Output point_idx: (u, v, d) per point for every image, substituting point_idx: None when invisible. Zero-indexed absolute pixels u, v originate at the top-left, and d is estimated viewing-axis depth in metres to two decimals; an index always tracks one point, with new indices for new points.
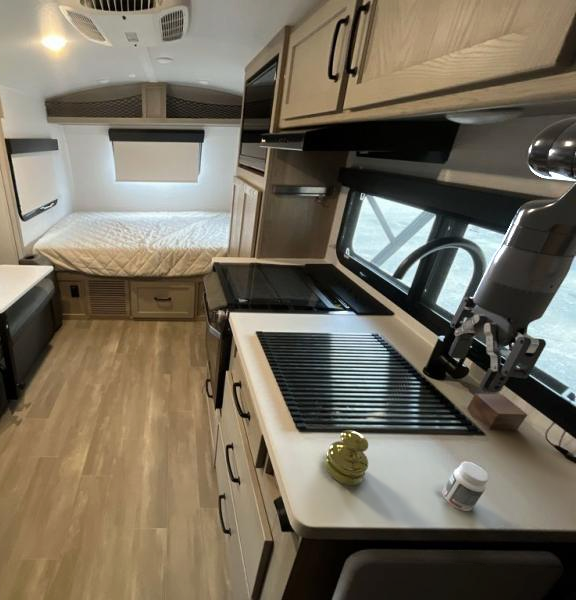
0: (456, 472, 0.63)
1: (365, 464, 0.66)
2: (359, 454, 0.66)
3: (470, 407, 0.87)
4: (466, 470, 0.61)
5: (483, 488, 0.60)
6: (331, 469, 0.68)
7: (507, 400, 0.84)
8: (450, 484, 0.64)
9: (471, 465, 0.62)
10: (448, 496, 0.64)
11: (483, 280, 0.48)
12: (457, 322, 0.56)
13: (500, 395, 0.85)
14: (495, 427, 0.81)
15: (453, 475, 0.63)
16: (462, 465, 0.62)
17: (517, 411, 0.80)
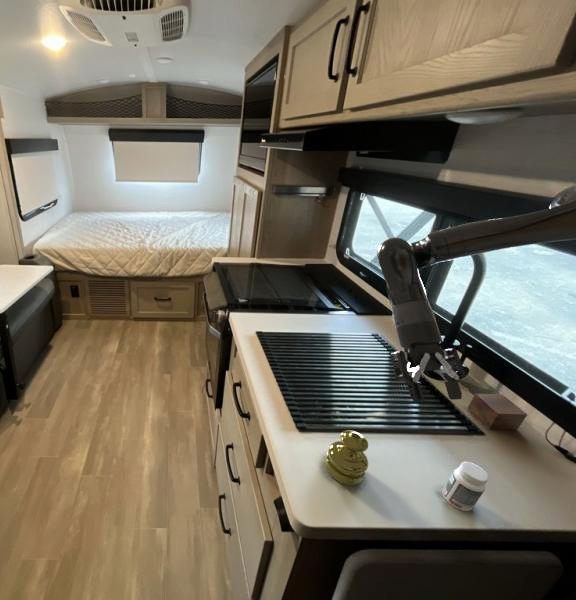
0: (456, 472, 0.63)
1: (365, 464, 0.66)
2: (359, 454, 0.66)
3: (470, 407, 0.87)
4: (466, 470, 0.61)
5: (483, 488, 0.60)
6: (331, 469, 0.68)
7: (507, 400, 0.84)
8: (450, 484, 0.64)
9: (471, 465, 0.62)
10: (448, 496, 0.64)
11: None
12: None
13: (500, 395, 0.85)
14: (495, 427, 0.81)
15: (453, 475, 0.63)
16: (462, 465, 0.62)
17: (517, 411, 0.80)
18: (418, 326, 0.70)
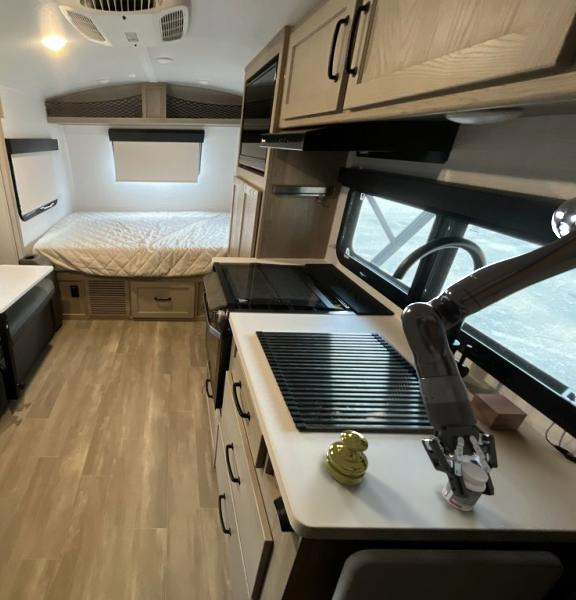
0: None
1: (365, 464, 0.66)
2: (359, 454, 0.66)
3: None
4: (466, 470, 0.61)
5: (483, 488, 0.60)
6: (331, 469, 0.68)
7: (507, 400, 0.84)
8: None
9: (471, 465, 0.62)
10: (448, 496, 0.64)
11: None
12: None
13: (500, 395, 0.85)
14: (495, 427, 0.81)
15: None
16: (462, 465, 0.62)
17: (517, 411, 0.80)
18: (450, 406, 0.63)
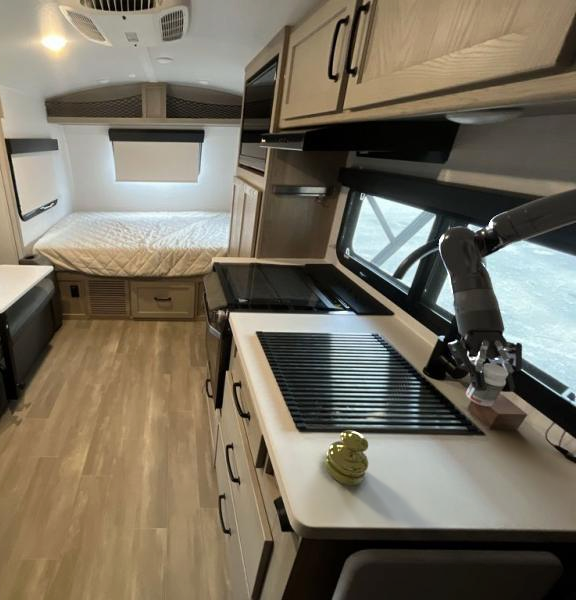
0: None
1: (365, 464, 0.66)
2: (359, 454, 0.66)
3: (470, 407, 0.87)
4: (487, 368, 0.69)
5: (502, 383, 0.68)
6: (331, 469, 0.68)
7: (507, 400, 0.84)
8: None
9: (494, 365, 0.70)
10: (469, 394, 0.73)
11: None
12: None
13: (500, 395, 0.85)
14: (495, 427, 0.81)
15: None
16: (484, 365, 0.70)
17: (517, 411, 0.80)
18: (478, 314, 0.71)
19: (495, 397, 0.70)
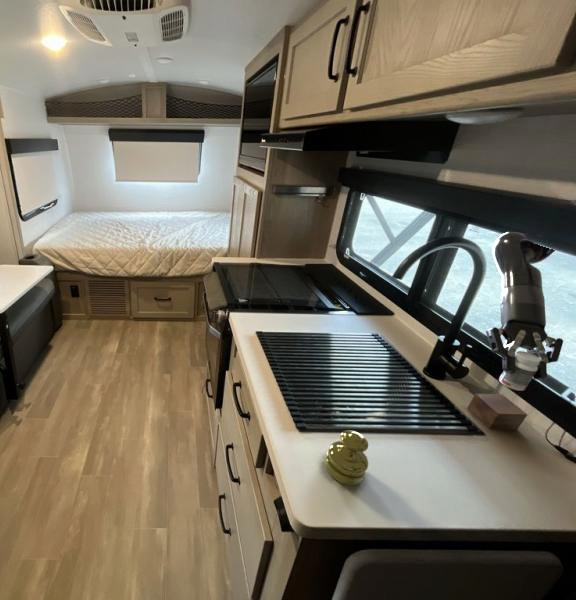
0: None
1: (365, 464, 0.66)
2: (359, 454, 0.66)
3: (470, 407, 0.87)
4: (520, 353, 0.77)
5: (532, 369, 0.75)
6: (331, 469, 0.68)
7: (507, 400, 0.84)
8: None
9: (528, 353, 0.77)
10: (501, 378, 0.80)
11: None
12: None
13: (500, 395, 0.85)
14: (495, 427, 0.81)
15: None
16: (518, 351, 0.78)
17: (517, 411, 0.80)
18: (519, 306, 0.79)
19: (525, 382, 0.77)
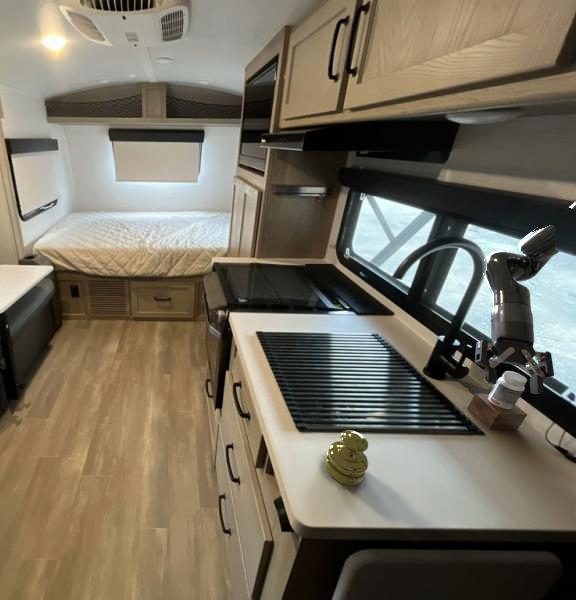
0: None
1: (365, 464, 0.66)
2: (359, 454, 0.66)
3: (470, 407, 0.87)
4: (507, 373, 0.80)
5: (519, 388, 0.78)
6: (331, 469, 0.68)
7: None
8: (494, 387, 0.82)
9: (515, 373, 0.80)
10: (490, 396, 0.83)
11: None
12: None
13: None
14: (495, 427, 0.81)
15: (498, 380, 0.82)
16: (506, 371, 0.80)
17: (517, 411, 0.80)
18: (509, 324, 0.81)
19: (512, 401, 0.79)
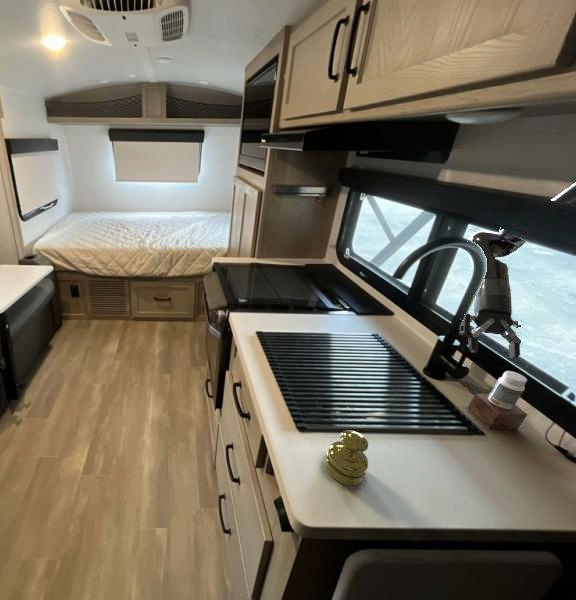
0: None
1: (365, 464, 0.66)
2: (359, 454, 0.66)
3: (470, 407, 0.87)
4: (507, 373, 0.80)
5: (519, 389, 0.78)
6: (331, 469, 0.68)
7: None
8: (494, 387, 0.82)
9: (515, 373, 0.80)
10: (490, 396, 0.83)
11: None
12: None
13: None
14: (495, 427, 0.81)
15: (498, 380, 0.82)
16: (506, 371, 0.80)
17: (517, 411, 0.80)
18: (489, 297, 0.91)
19: (512, 401, 0.79)
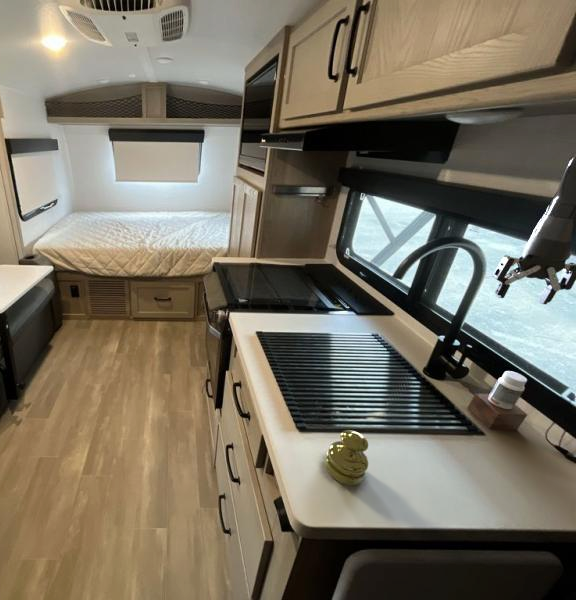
0: None
1: (365, 464, 0.66)
2: (359, 454, 0.66)
3: (470, 407, 0.87)
4: (507, 373, 0.80)
5: (519, 389, 0.78)
6: (331, 469, 0.68)
7: None
8: (494, 387, 0.82)
9: (515, 373, 0.80)
10: (490, 396, 0.83)
11: None
12: (560, 280, 0.79)
13: None
14: (495, 427, 0.81)
15: (498, 380, 0.82)
16: (506, 371, 0.80)
17: (517, 411, 0.80)
18: (548, 243, 0.74)
19: (512, 401, 0.79)
